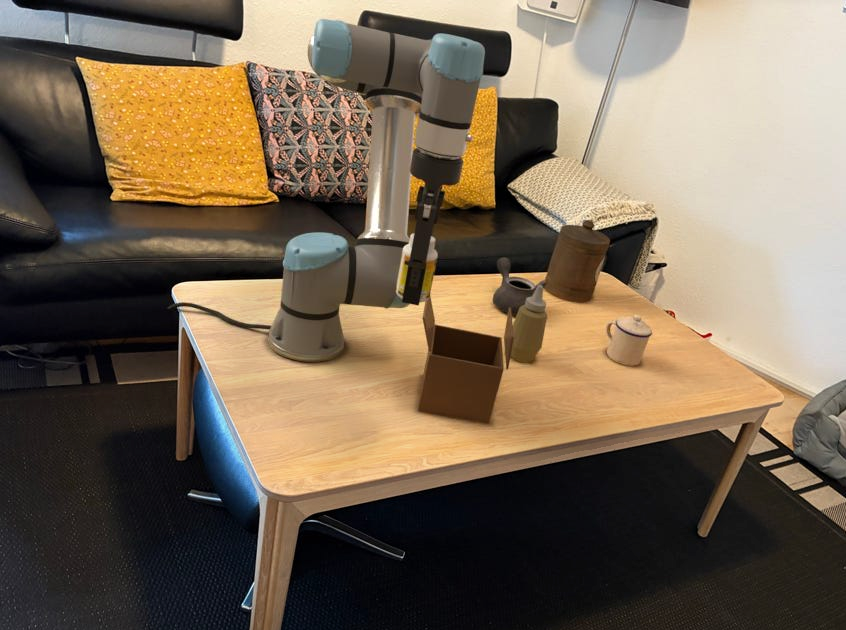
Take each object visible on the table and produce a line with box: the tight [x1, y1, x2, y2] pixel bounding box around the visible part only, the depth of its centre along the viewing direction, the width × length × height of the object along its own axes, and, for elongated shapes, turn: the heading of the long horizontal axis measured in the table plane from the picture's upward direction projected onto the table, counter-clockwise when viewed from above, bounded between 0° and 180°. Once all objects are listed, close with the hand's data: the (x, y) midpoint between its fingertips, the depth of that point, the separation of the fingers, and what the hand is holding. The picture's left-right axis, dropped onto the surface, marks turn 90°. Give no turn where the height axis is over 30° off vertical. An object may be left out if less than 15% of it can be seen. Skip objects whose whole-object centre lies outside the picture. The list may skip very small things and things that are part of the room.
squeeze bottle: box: [510, 285, 548, 363], centre depth 153 cm, size 8×8×18 cm
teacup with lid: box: [605, 314, 653, 367], centre depth 167 cm, size 12×9×12 cm
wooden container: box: [544, 219, 611, 303], centre depth 195 cm, size 15×15×22 cm
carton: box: [417, 307, 514, 425], centre depth 130 cm, size 15×13×19 cm
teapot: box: [492, 257, 547, 316], centre depth 181 cm, size 19×15×10 cm
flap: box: [421, 295, 436, 352], centre depth 126 cm, size 7×13×1 cm
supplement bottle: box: [396, 232, 439, 304], centre depth 107 cm, size 6×6×10 cm
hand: (412, 294), depth 109 cm, fingers closed on supplement bottle, 6 cm apart
